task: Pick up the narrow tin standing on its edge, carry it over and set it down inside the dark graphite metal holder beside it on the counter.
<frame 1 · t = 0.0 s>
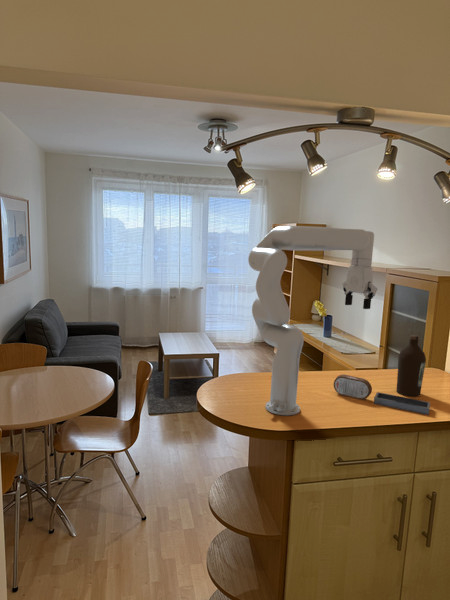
hand: (357, 306, 168), 37 cm above the table, tool pointing down, fingers open, 9 cm apart
tin: (351, 397, 175), on the table
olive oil: (408, 393, 182), on the table
holder: (401, 406, 167), on the table
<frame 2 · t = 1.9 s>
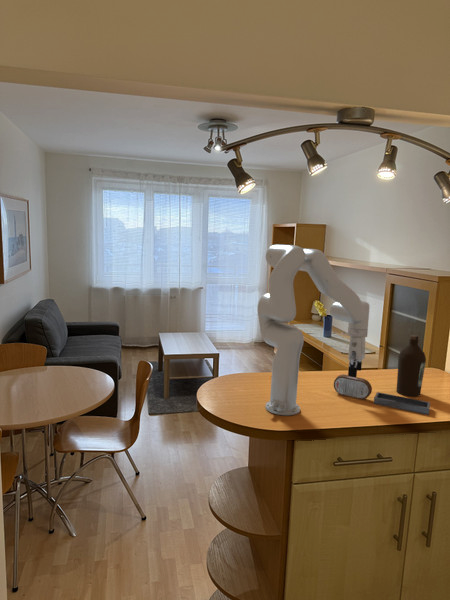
hand: (354, 373, 174), 10 cm above the table, tool pointing down, fingers open, 9 cm apart
nothing on the table moved.
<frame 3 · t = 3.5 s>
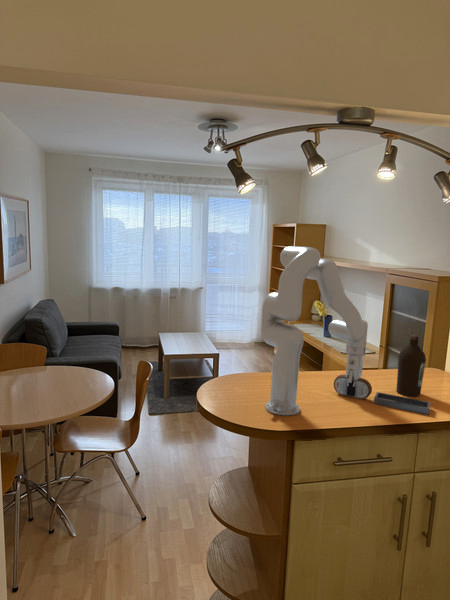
hand: (351, 393, 174), 1 cm above the table, tool pointing down, fingers open, 3 cm apart
tin: (351, 397, 175), on the table, touching gripper
everything else where it was.
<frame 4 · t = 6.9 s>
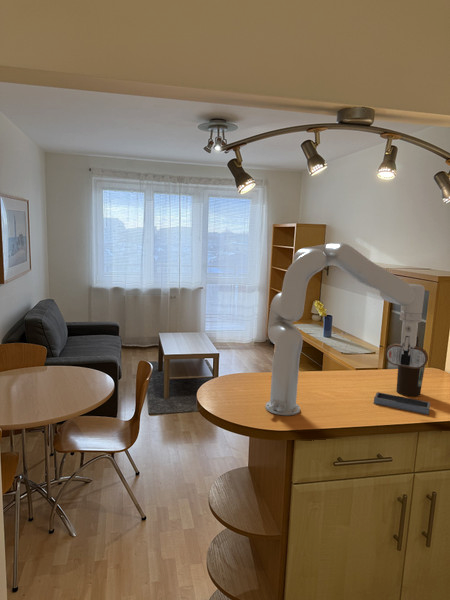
hand: (405, 363, 165), 17 cm above the table, tool pointing down, fingers closed on tin, 2 cm apart
tin: (404, 367, 164), point 16 cm above the table, touching gripper
everything else where it was.
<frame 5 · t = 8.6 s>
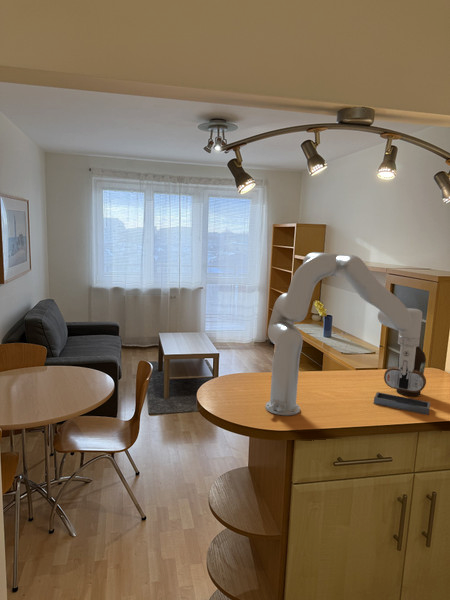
hand: (403, 386, 166), 8 cm above the table, tool pointing down, fingers closed on tin, 2 cm apart
tin: (403, 390, 166), point 6 cm above the table, touching gripper
everything else where it was.
when the fingers open (3 cm above the table, at t = 10.1 s): tin drops 1 cm, resting on holder.
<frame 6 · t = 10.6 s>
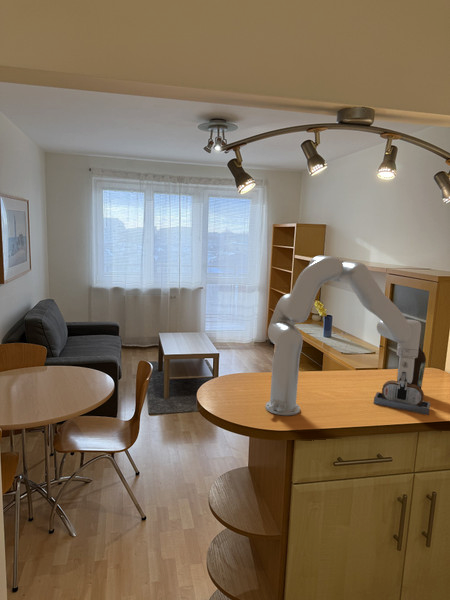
hand: (402, 395, 166), 4 cm above the table, tool pointing down, fingers open, 8 cm apart
tin: (401, 404, 166), point 1 cm above the table, touching holder
everything else where it was.
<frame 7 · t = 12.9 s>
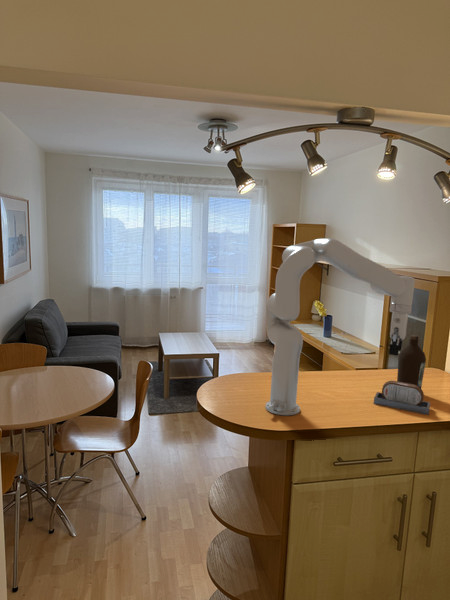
hand: (395, 352, 165), 21 cm above the table, tool pointing down, fingers open, 9 cm apart
nothing on the table moved.
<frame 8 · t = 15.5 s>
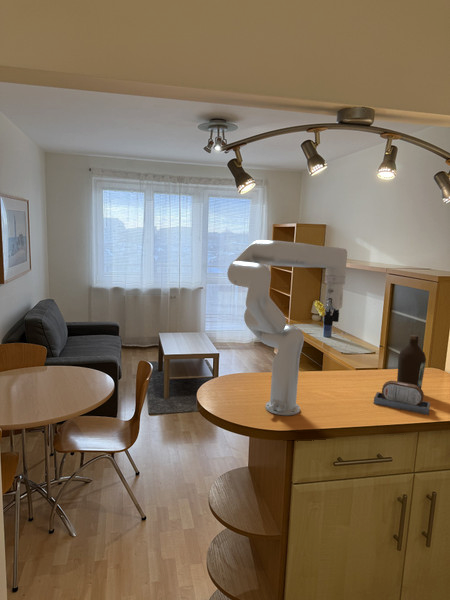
hand: (331, 323, 168), 30 cm above the table, tool pointing down, fingers open, 9 cm apart
nothing on the table moved.
at the end: tin 0.4 cm off-centre on the holder, point 0.8 cm above the holder's base; tin tilted 0°; the gripper is holding nothing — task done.
